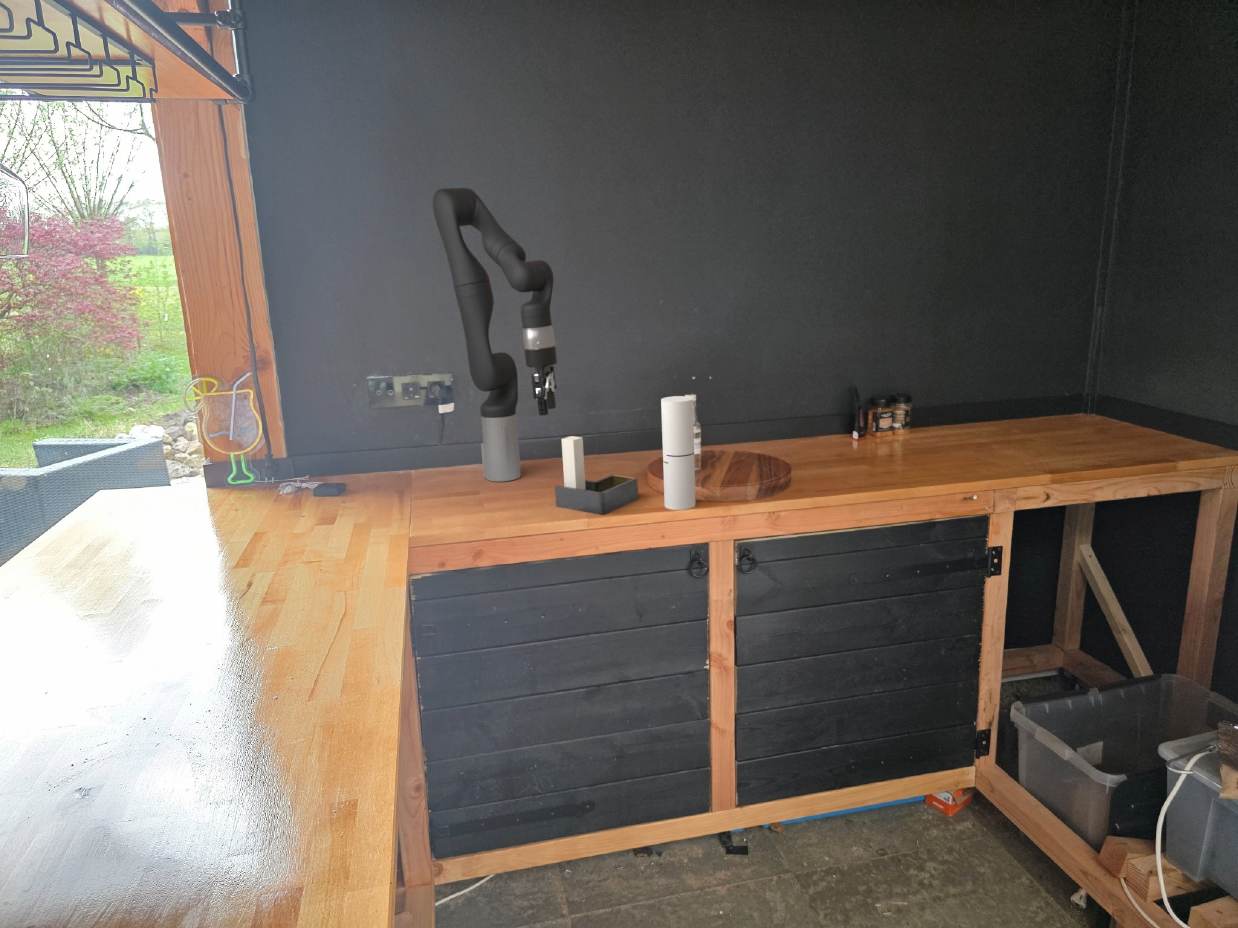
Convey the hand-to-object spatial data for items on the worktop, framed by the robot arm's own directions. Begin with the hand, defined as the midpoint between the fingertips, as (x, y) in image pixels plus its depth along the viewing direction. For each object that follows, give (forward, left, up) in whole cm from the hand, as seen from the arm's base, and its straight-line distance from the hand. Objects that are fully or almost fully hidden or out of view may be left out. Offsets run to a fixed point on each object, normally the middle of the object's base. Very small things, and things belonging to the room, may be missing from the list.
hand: (547, 411), depth 207 cm
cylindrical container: (+35, +4, -20) cm, 41 cm away
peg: (+12, -6, -20) cm, 24 cm away
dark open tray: (+16, -3, -20) cm, 26 cm away
